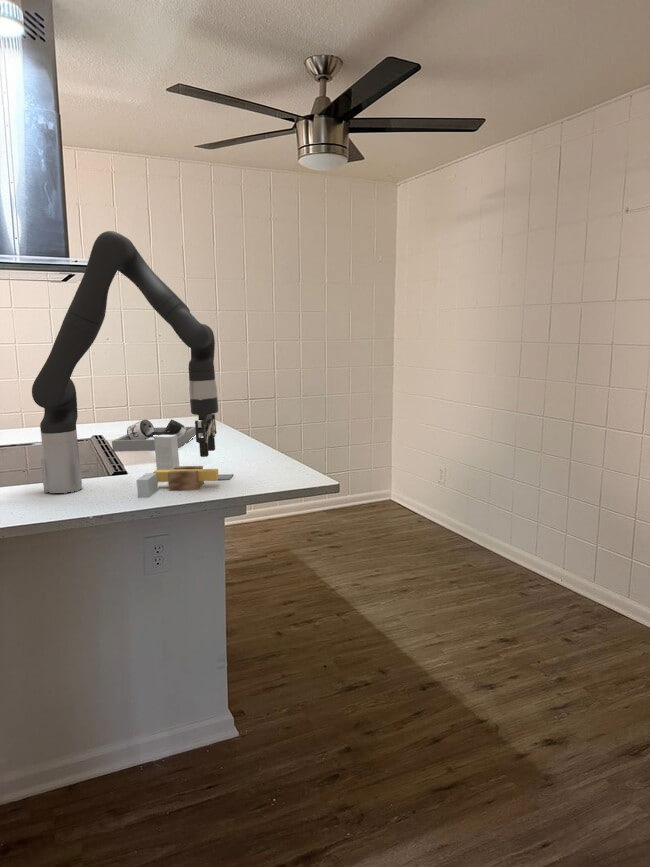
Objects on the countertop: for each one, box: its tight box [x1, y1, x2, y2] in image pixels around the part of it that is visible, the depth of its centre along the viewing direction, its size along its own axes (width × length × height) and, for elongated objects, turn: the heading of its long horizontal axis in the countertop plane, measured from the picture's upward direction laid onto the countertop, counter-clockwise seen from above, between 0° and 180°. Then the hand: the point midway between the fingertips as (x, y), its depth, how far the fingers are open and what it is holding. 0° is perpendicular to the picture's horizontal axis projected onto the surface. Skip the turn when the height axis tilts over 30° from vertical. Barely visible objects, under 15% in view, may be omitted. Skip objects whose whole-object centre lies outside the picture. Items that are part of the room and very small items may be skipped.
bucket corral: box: [111, 426, 196, 452], centre depth 245 cm, size 25×33×4 cm
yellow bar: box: [152, 468, 219, 483], centre depth 170 cm, size 18×3×3 cm, turn 87°
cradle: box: [168, 465, 205, 492], centre depth 170 cm, size 8×8×5 cm
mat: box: [217, 473, 234, 481], centre depth 180 cm, size 22×6×1 cm, turn 88°
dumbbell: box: [126, 419, 187, 440], centre depth 244 cm, size 25×10×10 cm, turn 85°
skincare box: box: [153, 435, 180, 470], centre depth 188 cm, size 6×4×12 cm
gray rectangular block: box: [136, 472, 159, 499], centre depth 164 cm, size 3×8×5 cm, turn 178°
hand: (208, 453), depth 168 cm, fingers open, 8 cm apart
